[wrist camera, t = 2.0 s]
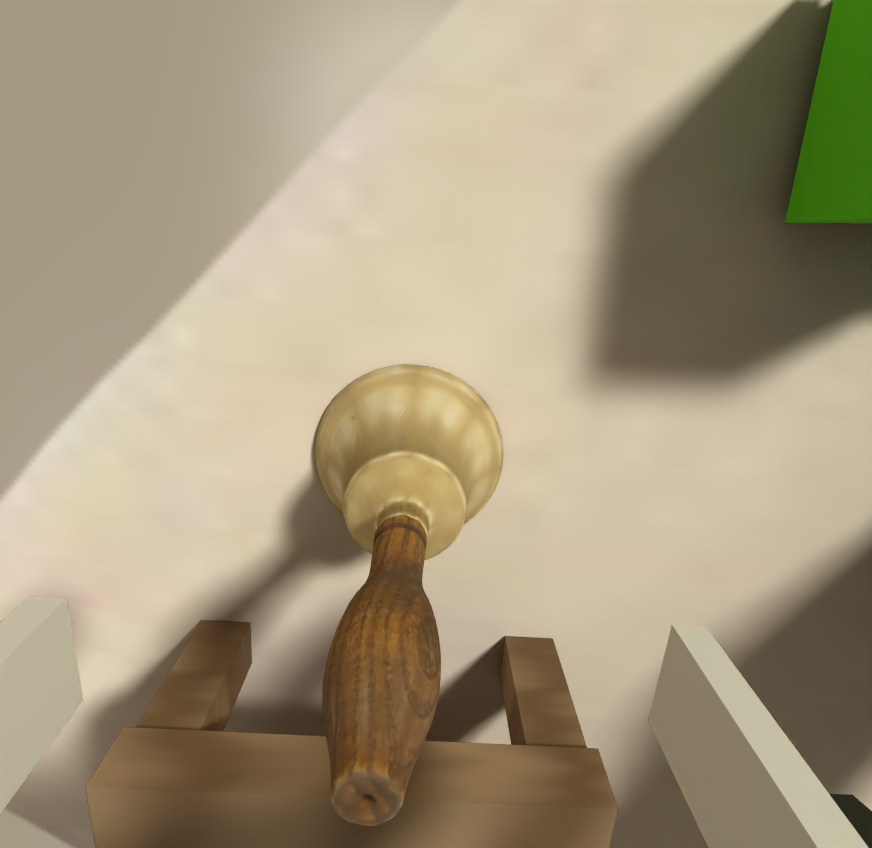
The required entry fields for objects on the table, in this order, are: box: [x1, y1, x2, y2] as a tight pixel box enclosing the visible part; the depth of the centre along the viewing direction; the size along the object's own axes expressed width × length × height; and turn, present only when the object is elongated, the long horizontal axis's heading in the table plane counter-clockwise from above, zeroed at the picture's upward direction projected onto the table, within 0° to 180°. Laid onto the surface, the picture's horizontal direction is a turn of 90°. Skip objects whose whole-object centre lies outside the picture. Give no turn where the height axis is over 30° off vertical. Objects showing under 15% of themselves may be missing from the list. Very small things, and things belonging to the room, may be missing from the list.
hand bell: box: [315, 364, 503, 826], centre depth 17 cm, size 8×8×16 cm
